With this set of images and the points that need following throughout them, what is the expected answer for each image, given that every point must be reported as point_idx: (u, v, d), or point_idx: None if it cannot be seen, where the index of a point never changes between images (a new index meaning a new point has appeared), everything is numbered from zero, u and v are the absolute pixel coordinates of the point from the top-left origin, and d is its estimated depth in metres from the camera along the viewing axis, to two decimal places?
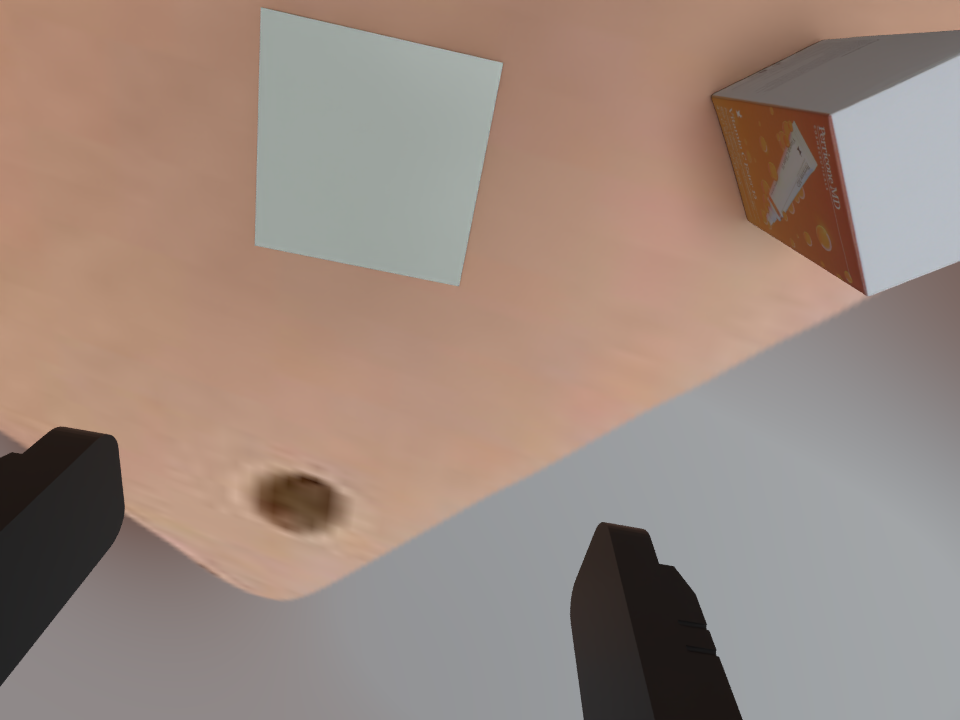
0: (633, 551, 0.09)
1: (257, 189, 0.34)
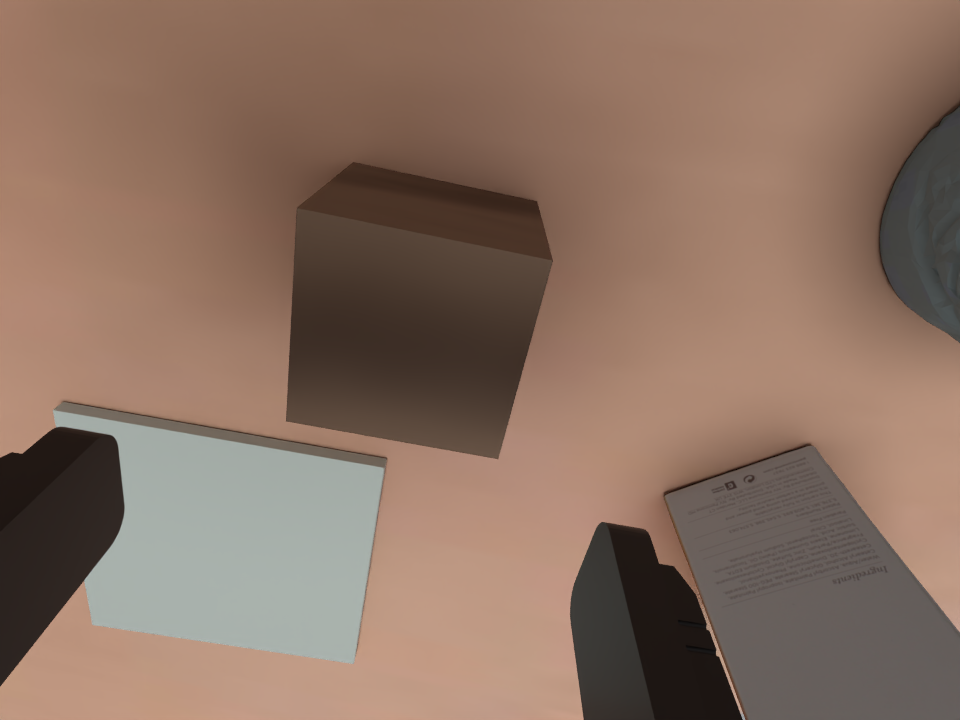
0: (633, 551, 0.09)
1: None
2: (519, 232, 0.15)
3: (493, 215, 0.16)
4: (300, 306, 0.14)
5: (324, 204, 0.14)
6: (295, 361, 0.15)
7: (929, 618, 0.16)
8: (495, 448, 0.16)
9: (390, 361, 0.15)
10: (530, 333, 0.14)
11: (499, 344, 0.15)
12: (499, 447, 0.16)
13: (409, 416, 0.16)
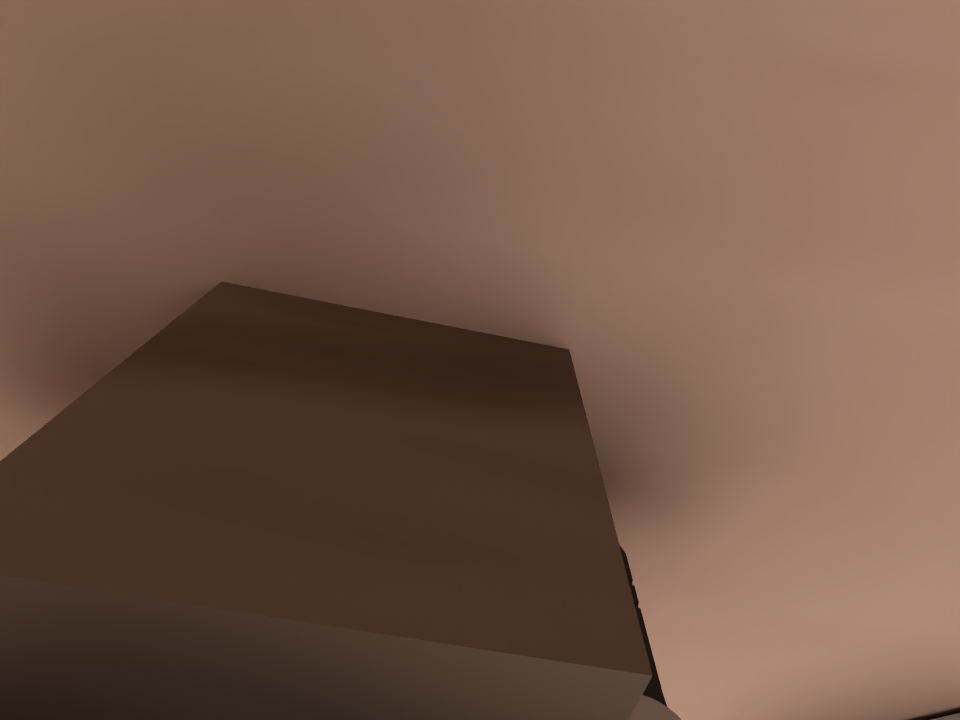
0: None
1: None
2: (548, 508, 0.06)
3: (486, 434, 0.07)
4: None
5: (16, 501, 0.05)
6: None
7: None
8: None
9: None
10: None
11: None
12: None
13: None
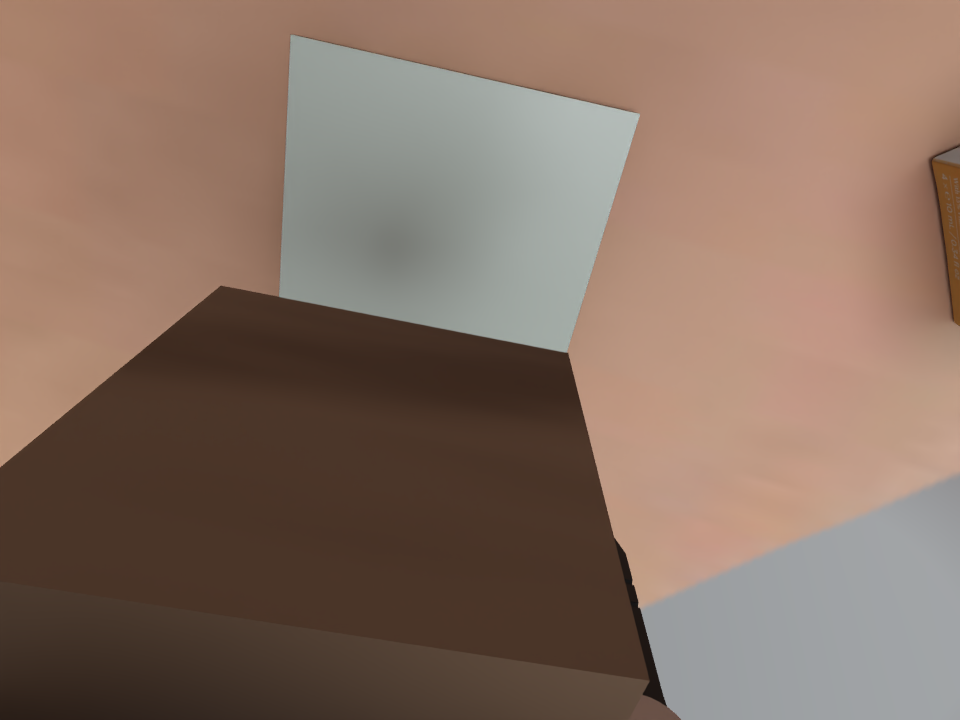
0: None
1: (281, 281, 0.25)
2: (546, 513, 0.06)
3: (485, 438, 0.07)
4: None
5: (16, 507, 0.05)
6: None
7: None
8: None
9: None
10: None
11: None
12: None
13: None
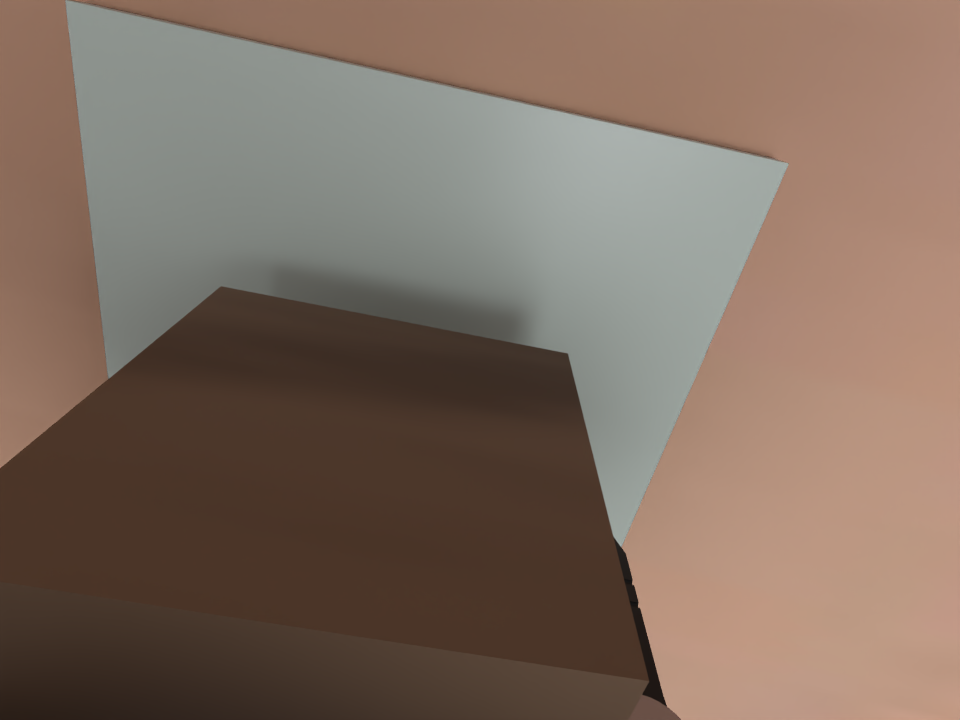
0: None
1: None
2: (546, 512, 0.06)
3: (485, 439, 0.07)
4: None
5: (16, 507, 0.05)
6: None
7: None
8: None
9: None
10: None
11: None
12: None
13: None
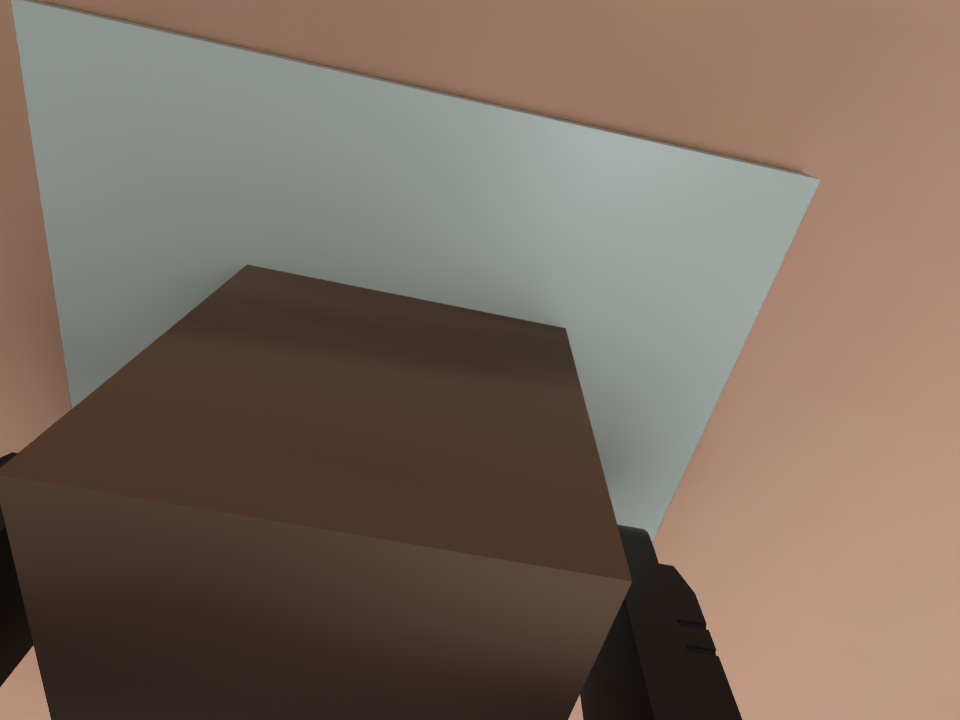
0: (633, 551, 0.09)
1: None
2: (545, 455, 0.07)
3: (490, 396, 0.08)
4: (55, 648, 0.06)
5: (92, 436, 0.06)
6: None
7: None
8: None
9: None
10: (571, 698, 0.07)
11: (502, 715, 0.07)
12: None
13: None
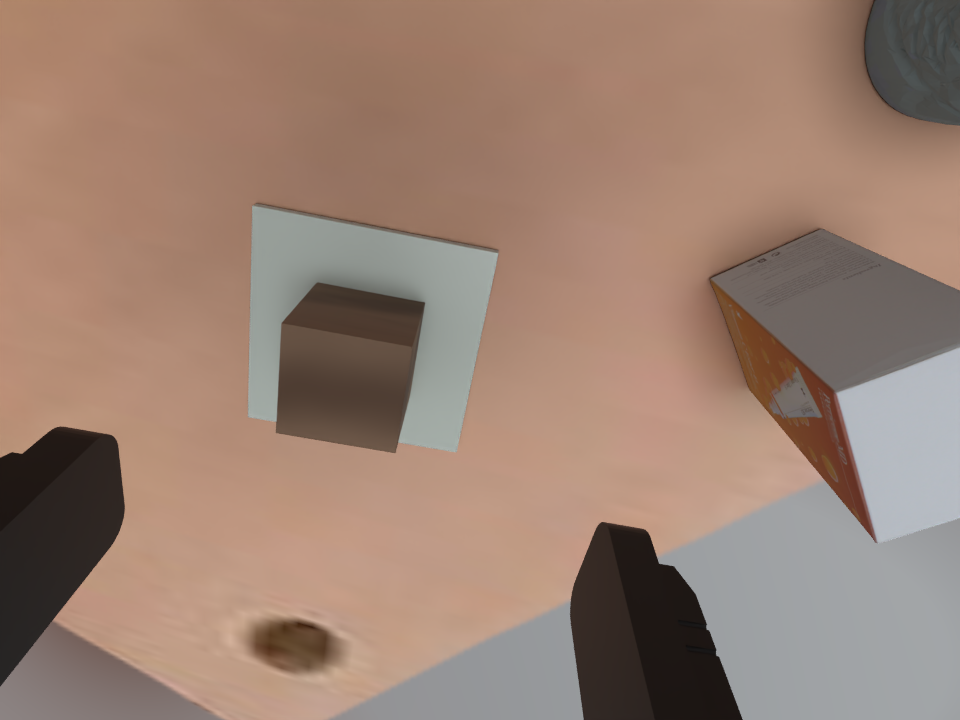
0: (633, 551, 0.09)
1: (250, 367, 0.34)
2: (402, 329, 0.28)
3: (391, 317, 0.29)
4: (283, 370, 0.27)
5: (295, 319, 0.27)
6: (281, 399, 0.28)
7: (910, 276, 0.23)
8: (393, 447, 0.29)
9: (331, 399, 0.28)
10: (405, 383, 0.27)
11: (389, 389, 0.28)
12: (395, 446, 0.29)
13: (344, 429, 0.29)
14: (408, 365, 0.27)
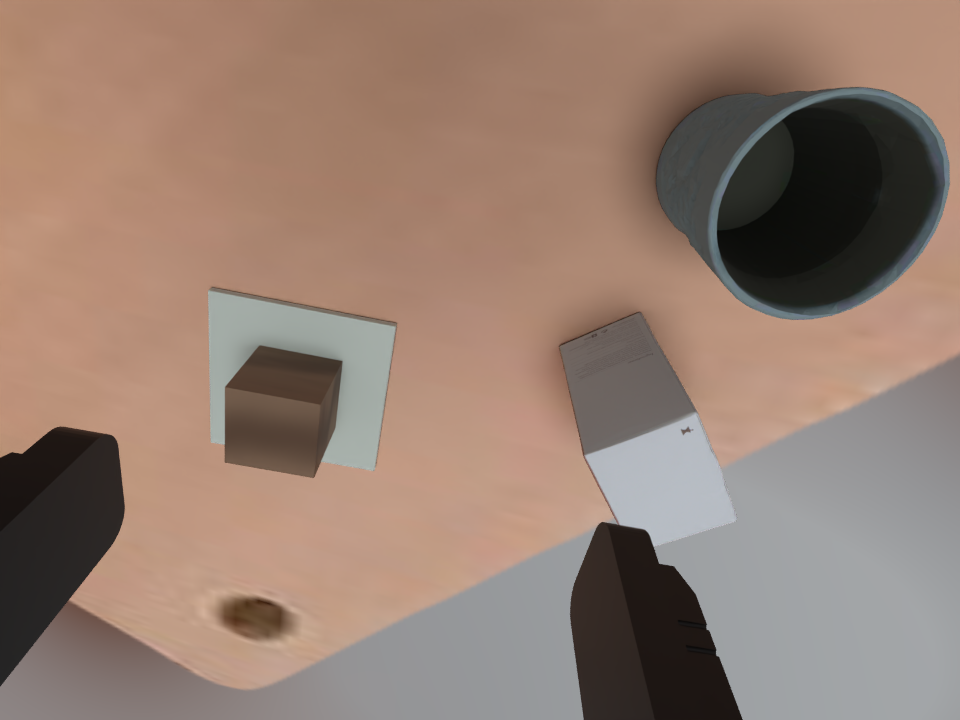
0: (633, 551, 0.09)
1: (211, 405, 0.44)
2: (316, 388, 0.38)
3: (311, 377, 0.39)
4: (228, 419, 0.37)
5: (236, 382, 0.37)
6: (227, 439, 0.38)
7: (662, 367, 0.33)
8: (311, 473, 0.39)
9: (264, 439, 0.38)
10: (317, 429, 0.37)
11: (306, 433, 0.38)
12: (313, 473, 0.39)
13: (275, 460, 0.39)
14: (318, 417, 0.37)
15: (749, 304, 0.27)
